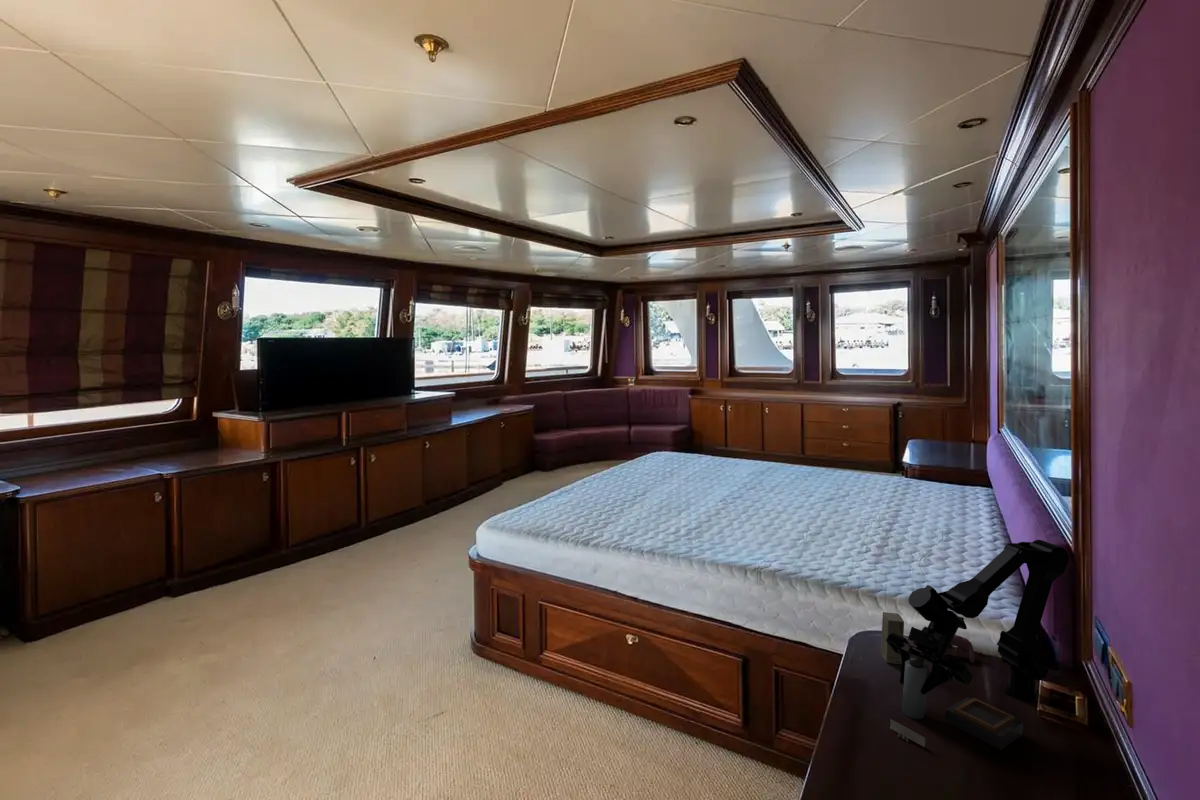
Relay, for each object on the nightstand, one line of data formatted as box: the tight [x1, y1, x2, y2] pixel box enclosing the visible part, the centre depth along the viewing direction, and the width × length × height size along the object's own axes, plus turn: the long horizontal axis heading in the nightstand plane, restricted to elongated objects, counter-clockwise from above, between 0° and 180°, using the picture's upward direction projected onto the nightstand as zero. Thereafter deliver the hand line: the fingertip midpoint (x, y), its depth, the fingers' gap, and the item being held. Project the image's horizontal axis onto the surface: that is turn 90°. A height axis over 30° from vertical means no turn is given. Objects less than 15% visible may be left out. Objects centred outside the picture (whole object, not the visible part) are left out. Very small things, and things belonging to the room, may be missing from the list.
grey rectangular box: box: [944, 696, 1024, 751], centre depth 141 cm, size 10×12×4 cm
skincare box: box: [880, 611, 905, 665], centre depth 172 cm, size 6×4×12 cm
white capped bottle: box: [901, 656, 929, 720], centre depth 146 cm, size 5×5×14 cm
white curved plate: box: [889, 718, 926, 748], centre depth 137 cm, size 4×8×3 cm, turn 34°
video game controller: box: [945, 634, 976, 664], centre depth 175 cm, size 10×5×7 cm, turn 71°
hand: (911, 688), depth 146 cm, fingers closed on white capped bottle, 5 cm apart
